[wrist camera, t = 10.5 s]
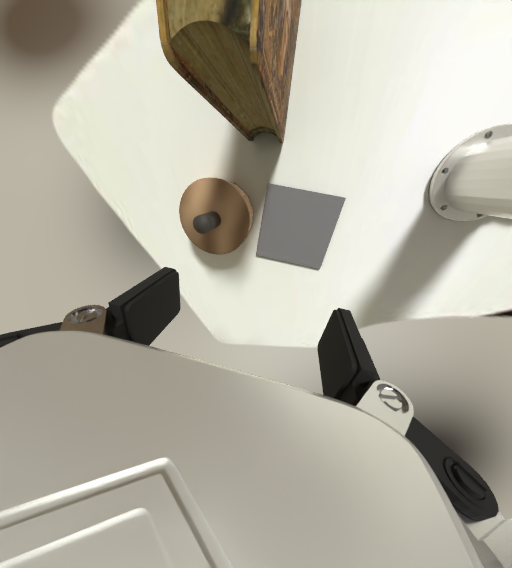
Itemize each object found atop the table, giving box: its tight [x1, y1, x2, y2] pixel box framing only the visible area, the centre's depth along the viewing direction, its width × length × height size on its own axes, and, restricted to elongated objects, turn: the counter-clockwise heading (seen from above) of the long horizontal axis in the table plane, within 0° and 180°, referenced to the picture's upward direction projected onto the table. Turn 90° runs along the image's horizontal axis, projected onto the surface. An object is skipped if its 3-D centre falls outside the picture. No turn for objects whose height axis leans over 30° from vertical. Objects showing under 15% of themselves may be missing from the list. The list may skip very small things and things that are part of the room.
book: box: [156, 0, 301, 143], centre depth 17 cm, size 16×6×25 cm, turn 175°
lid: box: [179, 178, 250, 254], centre depth 32 cm, size 13×13×6 cm
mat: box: [256, 184, 346, 269], centre depth 37 cm, size 14×14×1 cm
